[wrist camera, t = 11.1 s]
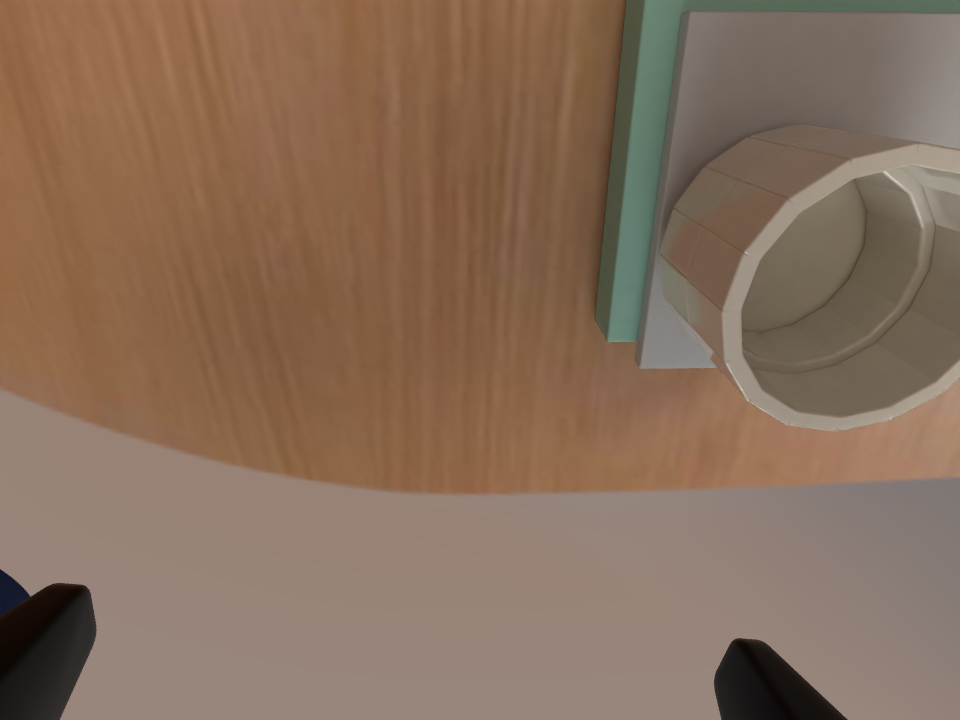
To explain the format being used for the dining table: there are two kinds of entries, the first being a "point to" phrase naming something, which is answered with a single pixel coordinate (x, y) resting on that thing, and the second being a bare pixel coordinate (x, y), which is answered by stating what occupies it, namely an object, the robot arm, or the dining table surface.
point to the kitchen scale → (751, 117)
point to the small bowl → (822, 273)
